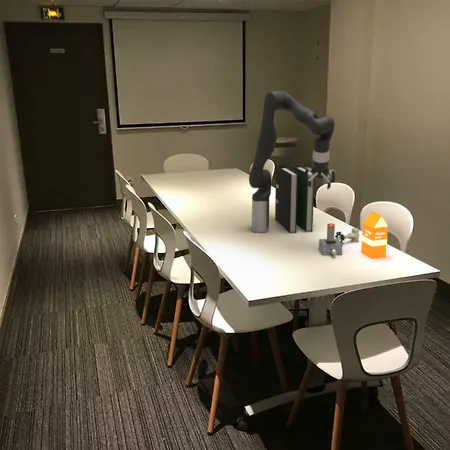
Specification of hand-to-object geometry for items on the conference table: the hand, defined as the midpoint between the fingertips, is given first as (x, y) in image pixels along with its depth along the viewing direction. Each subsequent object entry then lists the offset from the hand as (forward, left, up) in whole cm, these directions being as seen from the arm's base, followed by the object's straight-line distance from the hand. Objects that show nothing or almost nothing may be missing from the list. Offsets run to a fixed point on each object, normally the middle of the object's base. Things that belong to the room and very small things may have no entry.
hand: (319, 187), depth 236 cm
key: (+3, -14, -27) cm, 31 cm away
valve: (+16, -1, -29) cm, 33 cm away
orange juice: (+23, -19, -29) cm, 41 cm away
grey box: (+4, -16, -28) cm, 32 cm away
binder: (-7, +30, -29) cm, 42 cm away
